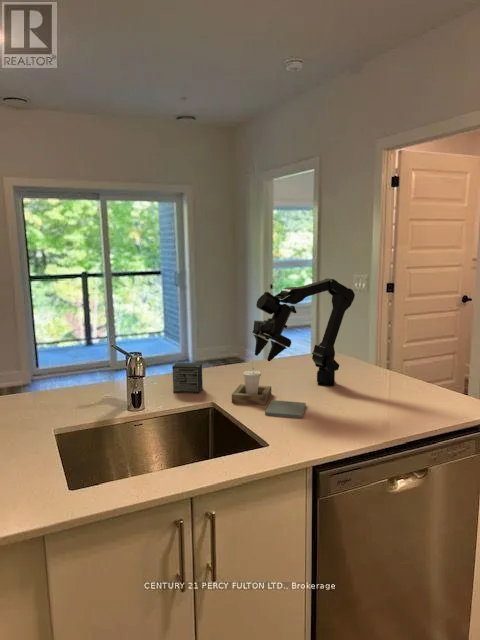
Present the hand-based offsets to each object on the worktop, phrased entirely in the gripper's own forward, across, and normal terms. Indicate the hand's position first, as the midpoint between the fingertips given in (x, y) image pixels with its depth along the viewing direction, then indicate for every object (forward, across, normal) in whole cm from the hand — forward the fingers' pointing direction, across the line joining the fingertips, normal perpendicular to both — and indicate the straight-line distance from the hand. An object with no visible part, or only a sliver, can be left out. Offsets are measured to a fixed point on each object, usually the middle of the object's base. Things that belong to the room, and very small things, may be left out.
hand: (261, 358), depth 169 cm
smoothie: (+15, +1, +3) cm, 15 cm away
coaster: (+13, +17, +6) cm, 22 cm away
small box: (+23, -18, -13) cm, 32 cm away
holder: (+15, +1, +2) cm, 15 cm away
